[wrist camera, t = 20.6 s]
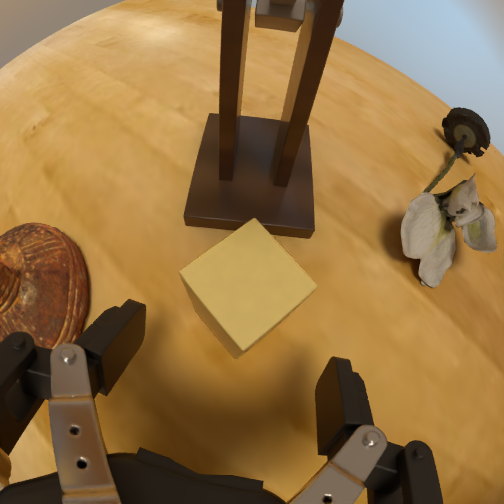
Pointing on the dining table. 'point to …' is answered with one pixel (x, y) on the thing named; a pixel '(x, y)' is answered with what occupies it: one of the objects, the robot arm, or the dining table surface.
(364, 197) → the dining table surface
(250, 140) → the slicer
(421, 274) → the artificial flower
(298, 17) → the blade lever
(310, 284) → the butter
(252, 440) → the dining table surface
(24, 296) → the bell
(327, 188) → the dining table surface
